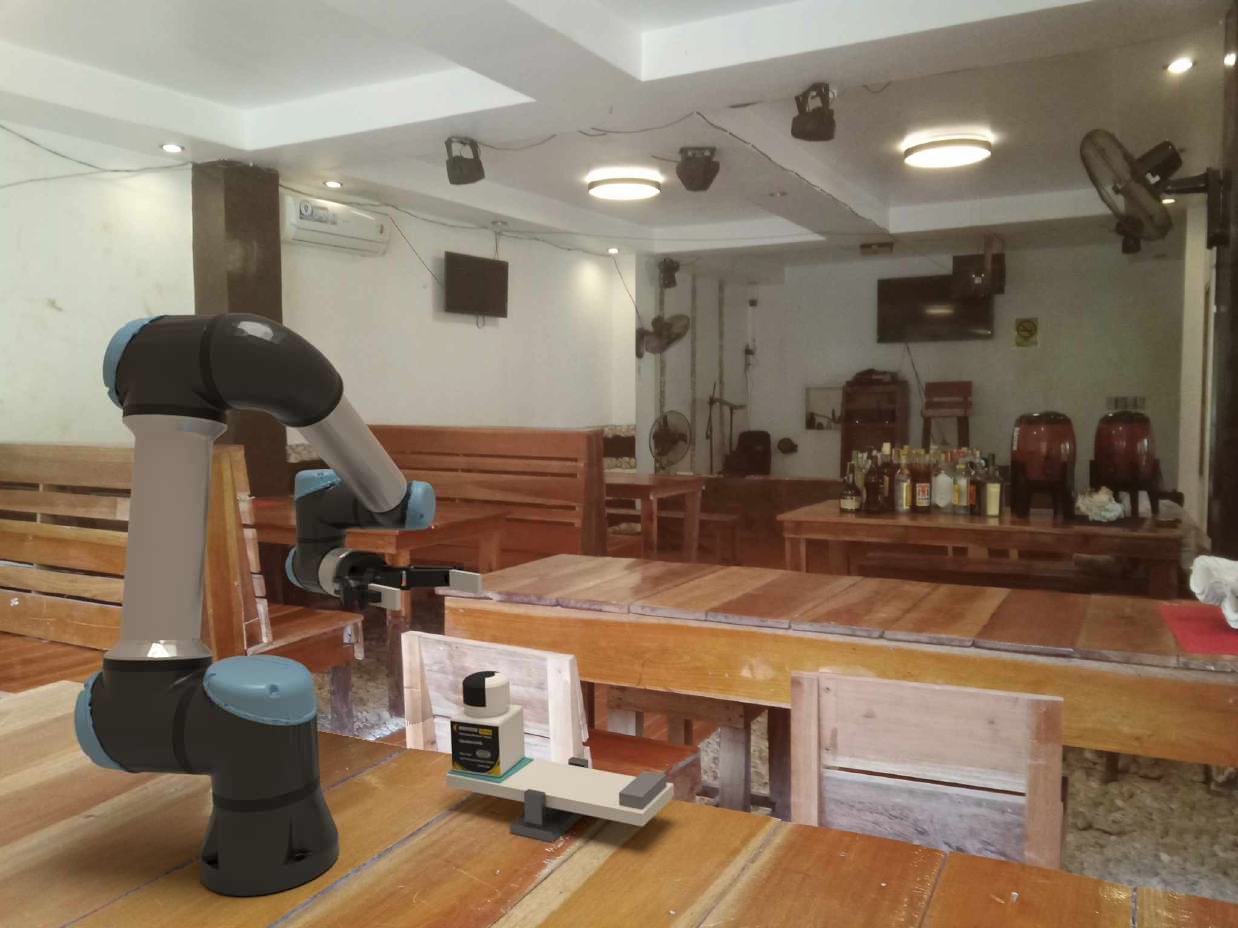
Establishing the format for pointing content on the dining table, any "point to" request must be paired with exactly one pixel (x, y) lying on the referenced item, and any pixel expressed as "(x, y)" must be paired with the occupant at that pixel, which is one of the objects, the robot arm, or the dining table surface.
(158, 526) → the robot arm
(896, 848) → the dining table surface
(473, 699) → the medicine bottle
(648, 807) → the beam
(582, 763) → the fulcrum
